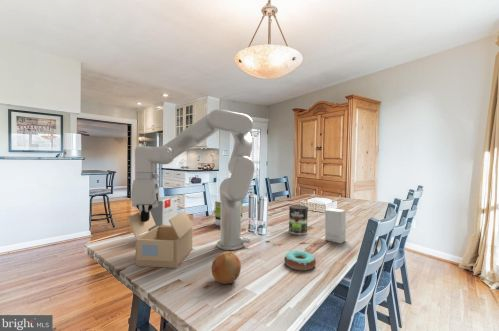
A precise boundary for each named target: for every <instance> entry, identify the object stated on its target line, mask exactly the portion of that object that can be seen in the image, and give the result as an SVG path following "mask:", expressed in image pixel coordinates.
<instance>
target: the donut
mask: <svg viewBox="0 0 499 331" xmlns="http://www.w3.org/2000/svg"><path fill="white" fill-rule="evenodd" d="M283 260H284V262H285V263H284V264H285V265H286V266H287V267H289V268H290V269H293V270H297V271H309V270H312V269H313V268H314V267H315V266H316V263H317V262H316V258H315V256H314V255H313V254H311V253H310V252H307V251H303V250H291V251H288V252H287V253H286V254H285V255H284V259H283Z"/></svg>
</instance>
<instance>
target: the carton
mask: <svg viewBox="0 0 499 331" xmlns="http://www.w3.org/2000/svg"><path fill="white" fill-rule="evenodd" d="M192 251H193V227H192V228H191V229H190V230H189V231H188V232H187V233H185V234H184V235H183V236H182V237H181V238H180V239H179V238H178V236H177V234H176V233H175V231H174V229H173V227H172V225H160V226H157V227H155V228H154V229H152V230H150V231H149V232H148V231H147V232H145V233H144V234H142V235H141V236H138V237H137V238H135V266H136V267H150V268H151V267H155V268H171V269H173V268H174V269H177V268H178V267H179V266H180V265H181V264H182V263H183V262H184V260H185V259H186V258H187V256H188V255H189V254H190V253H191V252H192Z"/></svg>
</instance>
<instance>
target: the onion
mask: <svg viewBox="0 0 499 331" xmlns="http://www.w3.org/2000/svg"><path fill="white" fill-rule="evenodd" d="M241 268H242V265H241V260H240V259H239V257H238V255H237V254H235V253H234V252H232V251H231V250H225V251H223V252H222V253H219V254H218V255H216V256H215V258H214V259H213V261H212V263H211V268H210V269H211V274H212V277H213V278H214V280H215V281H216V282H218V283H219V284H223V285H229V284H231V283H234V282H235V281H236V280H237V279H238V278H239V276H240V274H241V270H242V269H241Z"/></svg>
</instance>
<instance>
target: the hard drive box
mask: <svg viewBox="0 0 499 331" xmlns="http://www.w3.org/2000/svg"><path fill="white" fill-rule="evenodd" d="M178 198H179V197H178V196H173V195H172V196H168V195H165V196H159V202H158V207H155V208H152V209H151V210H150V212H151V214H152V217H153V219H154V222H155V224H156V225H155V226H153V227H151V228H150V229H148V230H147V232H149V231H150V230H152V229H154V228H155V227H157V226H160V225H171V224H170V222H169V220H170V219H171V218H173V217H175V216H176V215H178V206H179V205H178V202H179V201H178Z"/></svg>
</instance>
